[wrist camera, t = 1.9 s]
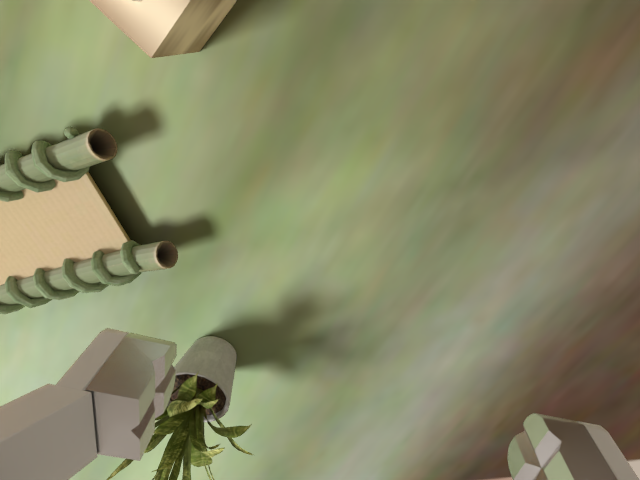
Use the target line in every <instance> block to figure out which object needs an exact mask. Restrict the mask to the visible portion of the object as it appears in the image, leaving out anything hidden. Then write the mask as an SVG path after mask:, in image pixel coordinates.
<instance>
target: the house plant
mask: <svg viewBox="0 0 640 480" xmlns="http://www.w3.org/2000/svg"><path fill="white" fill-rule="evenodd" d="M236 359H237V355H236V351H235V349H234V348H233V346H232V345H231V344H230V343H228V342H227V341H225V340H224V339H222V338H218V337H215V336H206V337H202V338H199V339H198V340H196V341H195V342H194V343H193V345H192V346H191V347H190V348H189V350H188V351H187V352H186V353H185V354H184V356H183V357H182V358H181V359H180V361H179V362H178V363H177V364H176V366H175V367H174V368H175V370H176V376H175V383H174V388H173V391H172V394H171V397H170V400H169V403H168V405H167V407H166V409H165V411H164V413H163V414H162V415H160V416H159V417H157V418H155V420H159V419H161V420H159V421H157V422H156V423H155V427H157V426H158V427H157V428H156V430H155V432H154V433H155V434H154V435H153V436H152V438H151V440H150V442H149V444H148V446H147V448H146V450H145V452H144V453H146V452H149V451H151V450H152V449H154V448H155V447H156V446H157V445H158V444H159V443H160V442H161V440H162V439H163V438H164V437H165V436H166V435H167V434H171V433H173V434H172V436H171V438H170V440H169V441H168V444H167V446H166V448H165V451H164V454H163V457H162V459H161V462H160V464H159V467H158V469H157V470H155V471H157V473H156V475H155V476H154V478H155V480H168V477H169V474H170V471H171V468H172V466H173V463H174V462H175V463H174V466H173V469H172V472H171V475H170V477H169V480H177V478H178V475H179V472H180V467H181V463H182V459H183V479H182V480H191V472H190V469H191V464H192V465H194V466H197V467H200V466H205V468H206V465H208V466H209V464H211V463H212V459H211V457H213V456H215V455H217V454H219V453H221V452H222V451H223V449H224V448H219V449H215V450H211V451H207V449H206V448H208V447H207V446H206V444H205V439H204V422H208V424H209V425H210V426H211V428H212V429H213V430H214V431H215V432H216V433H217V434H219V435H221V436H225V437H227V438H228V439H229V441H230V442H231V444H232V445H233V446H234V447H235V448H236V449H237V450H239V451H241V452H243V453H246V454H250V455H253V454H251V453H249V452H247V451H245V450H244V449H242V448H241V447H239V446H238V445H237V444H236V443H235V442H234V440H233V439H232V438H235V437H238V436H241V435H242V434H243V433H245V431H246V430H247V429H248V428H249V427H250V426H251V425H252V424H251V425H250V426H235V427H226V428H225V427H224V425H223V424H222V423H221V422H220V420H219V418H221V417H222V416H224V415H225V413H226V412H227V411H228V408H229V405H230V399H231V392H232V386H233V379H234V372H235V366H236ZM214 420H216V421H217V423H218V424H219V425H220V427H221V428H216V427H215V426H213V425H212V424H211V423H210V422H211V421H214ZM219 445H220V444H219ZM219 445H216V446H213V447H209V449H214V448H216V447H218V446H219ZM132 461H133V460H132V459H125V460H124V461H123V462H122V464H121V465H120V466H119V467H118V468H117V469H116V470H115V471H114V472H113V473H112V474H111V475H110V477H109V478H108V479H107V480H109V479H110V478H112V477H113V476H115V475H116V474H117V473H118V472H119V471H121V470H122V469H124V468H125V467H127V466H128V465H129V464H130V463H131V462H132ZM209 470H210V467H209ZM206 471H207V468H206ZM152 472H153V471H152ZM210 473H211V470H210ZM207 474H208V476H209V478H210V480H212V479H211V477H210V475H209V473H208V471H207ZM211 476H212V473H211ZM154 478H153V479H152V480H154ZM212 478H213V476H212ZM213 480H214V478H213Z"/></svg>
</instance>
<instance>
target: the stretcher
mask: <svg viewBox="0 0 640 480" xmlns="http://www.w3.org/2000/svg"><path fill="white" fill-rule="evenodd" d="M64 134H65V136H66V137H67V138H68V140H65V141H62V142H60V143H57V144H55V145H51V144H49V143H48V142H46V141H35V142H34V143H33V145H32V150H31V154H29V155H26V156H23V155H22V154H21V153H20V152H18V151H8V152H6V154H5V164H3V165H0V314H8V313H11V312H14V311H18V310H20V309H22V308H23V307H25V306H27V307H29V308H32V307H36V306H39V305H43V304H46V303H48V302H49V301H51V300H52V299H56V300H61V299H65V298H69V297H73V296H75V295H76V294H77V293H78V292H82V293H88V292H100V291H102V290H103V289H104V288H106V287H107V286H108V285H114V286H120V285H124V284H127V283H130V282H132V281H133V280H134V279H135V278H137V277H138V276H139V275H140V274H141V272H146V271H153V270H160V269H167V268H171V267H173V266H174V265H175V264H176V262H177V259H178V251H177V249H176V247H175V245H174V244H173V243H172V242H170V241H160V242H155V243H150V244H145V245H140V244H138V243H137V242H135V241H133V240H130V239H129V237H128V235H127V234H126V232H125V230H124V229H123V227H122V226H121V224H120V222H119V221H118V219H117V218H116V216H115V214H114V213H113V211H112V209H111V208H110V206H109V205H108V203H107V201H106V200H105V198H104V196H103V195H102V193H101V192H100V190H99V188H98V187H97V185H96V183H95V182H94V180H93V179H92V177H91V175H90V174H89V172H88V171H89V168H90V166H92V165H95V164H98V163H101V162H104V161H107V160H110V159H112V158H114V157H115V156H116V153H117V144H116V141H115V139H114V138H113V136H112V135H111V134H110V133H109V132H107V131H106V130H103V129H100V128H98V129H93V130H90V131H88V132H85V133H83V134H80V133H79V132H78V130H77V129H75V128H73V127H71V126H70V127H68V128H65V131H64Z"/></svg>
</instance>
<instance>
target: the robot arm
mask: <svg viewBox="0 0 640 480" xmlns="http://www.w3.org/2000/svg"><path fill="white" fill-rule="evenodd" d="M176 348H177V344H175V343H174V342H170V341H165V340H161V339H157V338H152V337H148V336H143V335H139V334H134V333H128V332H123V331H119V330H114V329H110V328H107V329H105V330H103V331H101V332H100V333H99V334H98V335H97V337H96V338H95V339H94V340H93V341H92V342H91V344H90V345H89V346H88V347H87V348H86V350H85V351H84V352H83V353H82V354H81V355H80V357H79V358H78V359H77V360H76V361H75V363H74V364H73V365H72V366H71V367H70V368H69V370H68V371H67V372H66V373H65V374H64V376H63V377H62V378H61V379H60V380H59V381H58V383H57V384H56V385H52V384H46V385H44V386H42V387H40V388H38V389H36V390H34V391H32V392H30V393H28V394H26V395H24V396H21V397H19V398H17V399H15V400H13V401H11V402H9V403H7V404H5V405H3V406H1V407H0V480H68V479H70V478H71V477H72V476H73V475H75V474H76V473H77V472H79V471H80V470H81V469H82V468H84V467H85V466H86V465H88V464H89V463H90V462H91V461H93V460H94V459H95V458H97V454H100V455H106V456H113V457H119V458H126V459H132V460H138V461H140V460H141V458H142V456H143V454H144V452H145V450H146V448H147V446H148V444H149V442H150V440H151V438H152V436H153V434H154V432H155V418H157V417H159V416H160V415H162V414H163V413H164V411H165V409H166V407H167V405H168V403H169V400H170V397H171V394H172V391H173V388H174V383H175V376H176V370H175V368H174V367H173V366H172V363H173V361H174V359H175V357H176ZM523 425H524V429H525V431H524V432H522V433H520V434H518V435H516V436H514V438H513V440H512V442H511V443H510V445H509V450H508V465H509V470H510V473H511V475H512V478H513V480H639V478H638V477H637V475H636V474H635V472H634V471H633V469H632V468H631V466H630V465H629V463H628V462H627V460H626V459H625V457H624V456H623V454H622V453H621V451H620V450H619V448H618V447H617V445H616V444H615V442H614V441H613V439H612V438H611V436H610V434H609V433H608V432H607V431H606V430H605V429H604V428H603V427H601V426H600V425H595V424H589V423H584V422H579V421H577V422H576V421H573V420H568V419H563V418H557V417H552V416H547V415H541V414H536V413H534V414H532V415H530V416H528V417H527V418H526V420H525V421H524V423H523Z"/></svg>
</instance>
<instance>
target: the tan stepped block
mask: <svg viewBox="0 0 640 480" xmlns="http://www.w3.org/2000/svg"><path fill="white" fill-rule="evenodd" d="M89 1H91V2H92V3H93V4H94V5H95V6H96V7H97V8H98V9H99V10H100V11H101V12H102V13H103V14H104V15H106V16H107V17H108V18H109V19H110V20H111V21H112V22H113V23H114V24H115V25H116V26H117V27H118V28H119V29H121V30H122V31H123V32H124V33H125V34H126V35H127V36H128V37H129V38H130V39H131V40H132V41H133V42H134V43H136V44H137V45H138V46H139V47H140V48H141V49H142V50H143V51H144V52H145V53H146V54H147V55H148V56H149V57H151V58H155V57H163V56H171V55H178V54H186V53H194V52H200V50H201V49H202V47H203V46H204V45H205V43H206V42H207V41H208V39H209V38H210V37H211V35H212V34H213V33H214V31H215V30H216V28H217V27H218V26H219V24H220V23H221V22H222V20H223V19H224V18H225V16H226V15H227V13H228V12H229V11H230V9H231V8H232V7H233V5H234V4H235V3H236V1H237V0H89Z"/></svg>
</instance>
